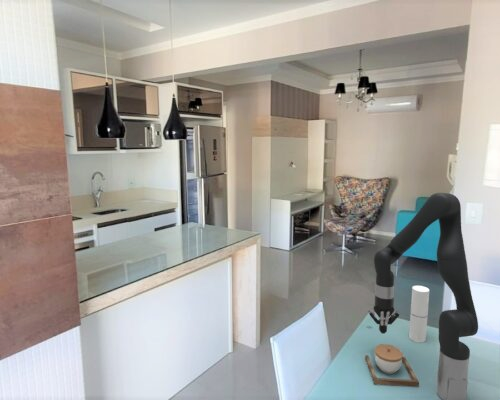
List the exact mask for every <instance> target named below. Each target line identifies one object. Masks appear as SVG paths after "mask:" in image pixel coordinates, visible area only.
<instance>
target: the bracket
mask: <svg viewBox="0 0 500 400" xmlns="http://www.w3.org/2000/svg"><path fill="white" fill-rule="evenodd" d="M364 360H365V363H366V362H367V363H366V365H368V366H367V367H368V371H369V373H371V374H370V376H371V378H373V379H372V381H374V382H373V384H374V385H377V384H380V386H381V385H382V386H396V387H397V386H399V387H415V388H419V387H420V381H419V379H418V378H417V376H416V374H415V372H414V371H413V368H412V367H411V365H410V364H409V362H408V360H407V358H406V356H403V358H402V364H403V366H404V368H405V370H406V372H407V374H408V376H409V378H410V379H407V378H404V379H403V378H387V377H386V378H385V377H378V376H377V374H376V372H375V369H374V366H373V364H372V361H371V358H370V356H369V354H364Z"/></svg>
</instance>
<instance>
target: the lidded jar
mask: <svg viewBox="0 0 500 400" xmlns="http://www.w3.org/2000/svg"><path fill="white" fill-rule="evenodd" d="M403 357H404V355H403V352H402V351H401V349H400V348H398V347H396V346H394V345H391V344H385V343H383V344H378V345H376V346H375V347H374V360H375V364H376V366H377V367H378V368H379V369H380V371H382V372H383V373H386V374H389V375H390V374H395V373H396V372H397V371H399V369H400V368H401V367H402V364H403V362H402V358H403Z"/></svg>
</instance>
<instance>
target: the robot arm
mask: <svg viewBox="0 0 500 400" xmlns="http://www.w3.org/2000/svg"><path fill="white" fill-rule="evenodd" d="M461 208H462V206H461V202H460V200H459V199H458V197H457V196H456V195H454V194H452V193H447V192H436V193H433V194H432V195H430V196H429V197H428V198H427V199H426V201H425V202H424V204H422V206H421V208H420V209H419V210H418V212H417V213H416V214H415V215H414V216H413V218H412V219H411V220H410V221H409V222H408V223H407V224H406V225H405V226H404V227H403V228H402V229H401V230H400V231H399V232H397V234H396V235H394V237H393V238H391V240H390V243H388V245H386V246H385V247H384V248H382V249H380V250H378V251H377V252H376V253H375V254H374V256H373V257H374V258H373V263H374V269H375V273H376V276H375V286H374V287H375V289H374V306H373V307H372V309H371V310H368V311H367V312H368V314H369V316H370V317H371V319H372V320H373V321H374V322H375V324H376V325H379V326H378V327H379V328H378V330H379V332H380V333H381V334H386V333H387V332H388V331H387V330H388V325H392V324H393V323H394V322H395V321H397V318H399V317H400V313H399V312H398V311H396V310H395V308H394V301H395V300H394V299H395V287H394V286H395V274H394V272H393V271H392V270H391V269H392V267H391V266H392V265H393V264H395V263H396V262H397V261H398V260H399V259H400V258H401V257H402V255H404V254H405V253H406V252H407V251H408V250H409V249H411V248H412V247H413V246H414V245H415V244H416V243H418V241H419V240H420V238H421V237H422V235H423V233H424V232H425V231H426V229H427V228H428V227H430V226H431V225H433V223H435V222H437V220H438V223H439V238H438V244H437V248H436V261H437V269H438V273H439V275H440V277H441V279H442V280H443V281H444V282H445V284H446V285H447V287H448V288H449V289H450V291H451V292H452V294H453V296H454V300H455V306H456V308H455V309H447V310H443V311H441V313H440V315H439V318H438V343H439V354H438V364H437V365H438V368H437V379H436V395H437V396H438V397H439V398H440V399H441V400H467V396H468V395H467V394H468V385H469V381H468V374H469V365H470V356H471V354H470V353H471V350H470V348H469V346H468V345H467V344H465V343H464V342H462V341H460V338H465V337H467V338H468V337H471V336H472V337H473V336H475V335H477V333H478V331H479V320H478V316H477V311H476V307H475V304H474V300H473V295H472V290H471V285H470V280H469V278H470V277H469V272H468V270H469V269H468V262H467V257H466V256H467V255H466V251H465V244H464V238H463V233H462V232H463V231H462V209H461ZM376 316H378V318H377V317H376Z"/></svg>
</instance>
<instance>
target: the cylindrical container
mask: <svg viewBox="0 0 500 400" xmlns="http://www.w3.org/2000/svg"><path fill="white" fill-rule="evenodd" d="M429 299H430V289H429V288H428V287H426V286H424V285H413V286H412V287H411V304H410V316H409V317H410V318H409V333H408V337H409V339H410V340H411V341H412V342H415V343H420V344H421V343H425V342H426V340H427V327H428V316H429V315H428V313H429V302H430V301H429Z"/></svg>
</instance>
